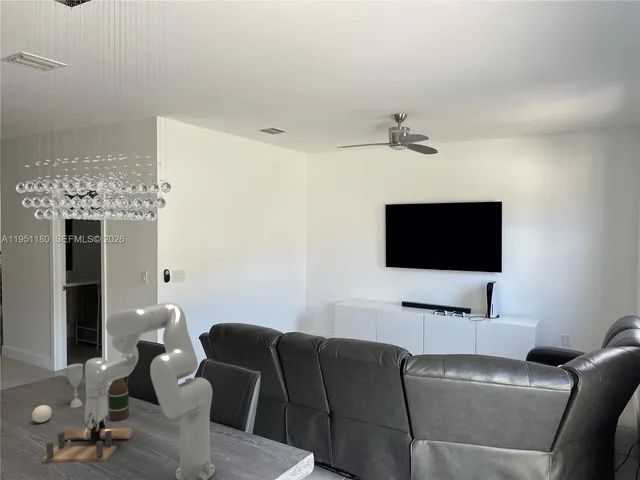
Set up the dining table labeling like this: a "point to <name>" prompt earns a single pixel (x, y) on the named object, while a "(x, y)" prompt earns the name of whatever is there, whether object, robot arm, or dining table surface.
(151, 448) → the dining table surface
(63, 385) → the dining table surface
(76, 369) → the chalice
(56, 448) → the base
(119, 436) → the tube
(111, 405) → the beer bottle
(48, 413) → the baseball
